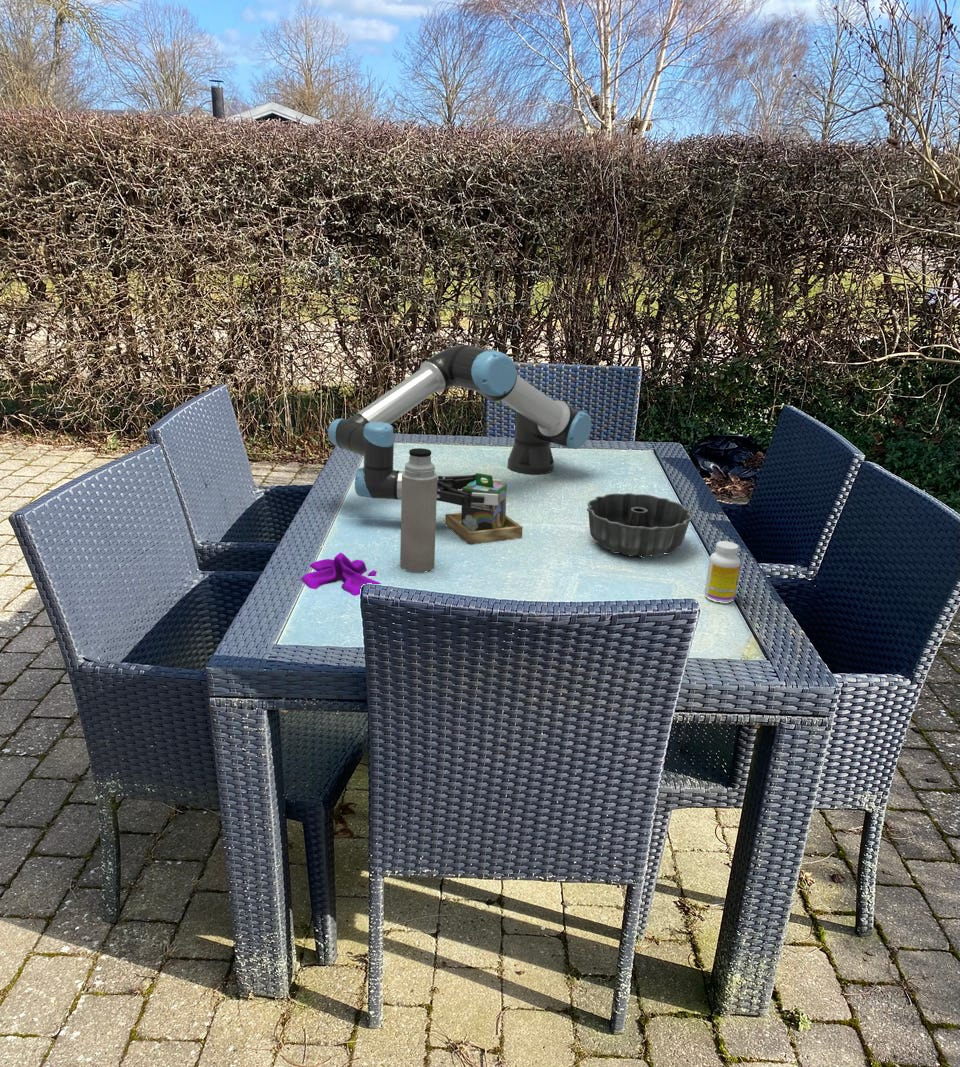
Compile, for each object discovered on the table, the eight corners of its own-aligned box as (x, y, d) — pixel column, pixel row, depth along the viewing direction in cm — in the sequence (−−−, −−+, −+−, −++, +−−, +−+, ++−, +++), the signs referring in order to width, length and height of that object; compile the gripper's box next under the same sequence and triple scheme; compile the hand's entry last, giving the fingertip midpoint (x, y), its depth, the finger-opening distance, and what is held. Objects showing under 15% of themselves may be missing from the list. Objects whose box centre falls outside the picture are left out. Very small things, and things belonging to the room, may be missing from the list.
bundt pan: (679, 572, 213) (684, 533, 209) (572, 554, 221) (575, 516, 217) (694, 538, 236) (699, 502, 232) (596, 522, 244) (600, 487, 241)
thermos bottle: (408, 557, 213) (410, 443, 203) (439, 563, 211) (443, 448, 201) (394, 569, 206) (396, 451, 196) (426, 575, 204) (430, 456, 194)
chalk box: (505, 525, 235) (509, 471, 229) (492, 536, 227) (495, 480, 222) (473, 519, 238) (476, 466, 233) (459, 529, 230) (461, 474, 225)
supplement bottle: (738, 604, 197) (747, 550, 192) (709, 604, 196) (717, 550, 191) (728, 592, 203) (736, 539, 198) (700, 592, 202) (707, 539, 198)
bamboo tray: (495, 519, 242) (496, 508, 241) (521, 537, 229) (522, 527, 228) (445, 525, 236) (445, 514, 235) (469, 544, 223) (469, 533, 222)
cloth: (378, 599, 191) (378, 573, 189) (292, 594, 192) (291, 567, 190) (391, 561, 212) (391, 536, 210) (313, 556, 213) (313, 532, 210)
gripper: (421, 486, 242) (501, 492, 241) (408, 515, 220) (495, 521, 219) (422, 459, 240) (502, 465, 239) (408, 486, 217) (497, 492, 216)
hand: (499, 492), depth 229 cm, fingers open, 12 cm apart
